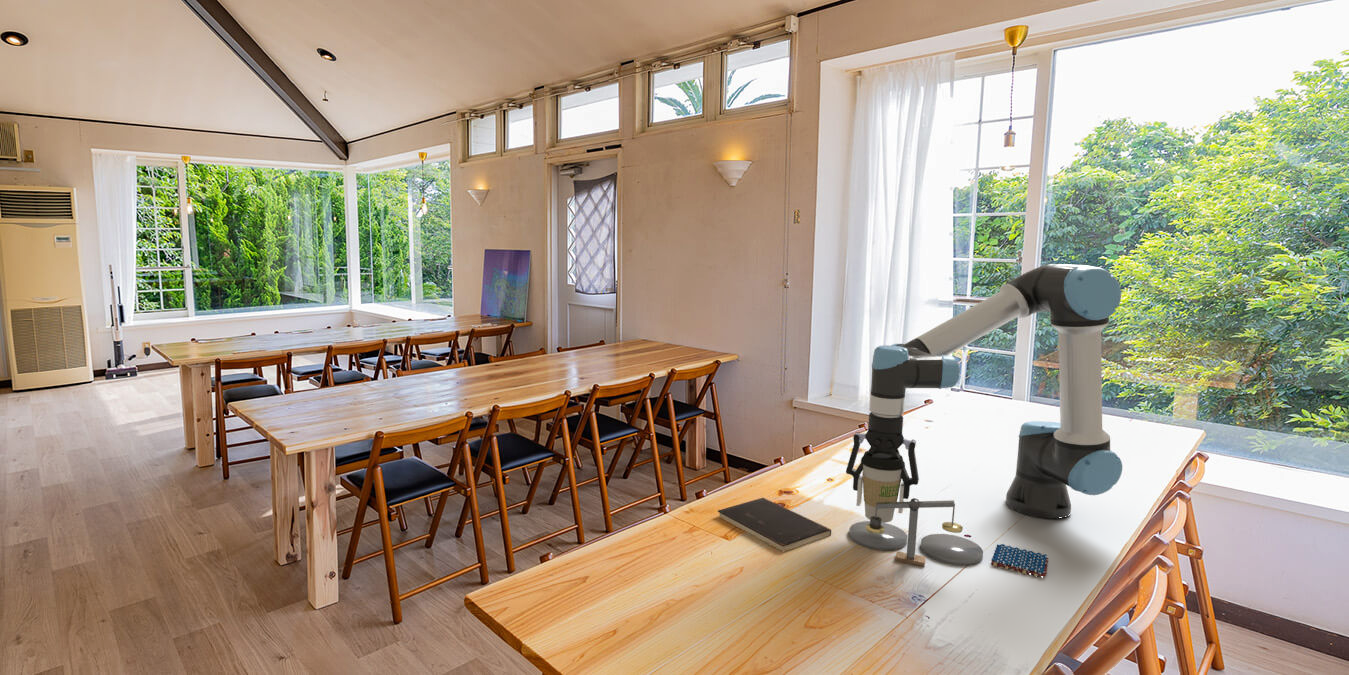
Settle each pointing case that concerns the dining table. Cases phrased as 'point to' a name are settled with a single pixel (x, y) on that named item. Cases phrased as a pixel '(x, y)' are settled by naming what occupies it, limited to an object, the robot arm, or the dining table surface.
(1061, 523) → the dining table surface
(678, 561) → the dining table surface
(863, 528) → the dish low side
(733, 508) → the hardcover book
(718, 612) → the dining table surface
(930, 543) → the grey flat disc
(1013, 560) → the woven mat
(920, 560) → the balance
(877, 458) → the coffee cup
